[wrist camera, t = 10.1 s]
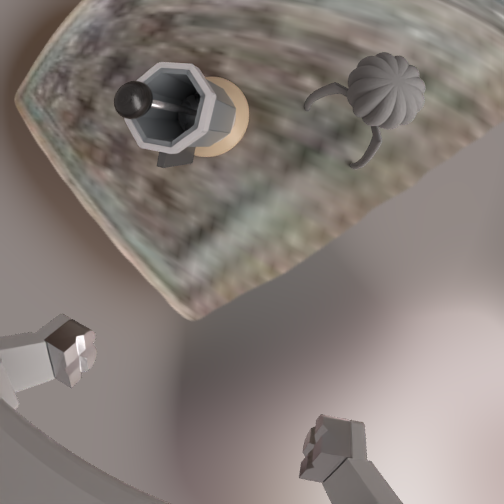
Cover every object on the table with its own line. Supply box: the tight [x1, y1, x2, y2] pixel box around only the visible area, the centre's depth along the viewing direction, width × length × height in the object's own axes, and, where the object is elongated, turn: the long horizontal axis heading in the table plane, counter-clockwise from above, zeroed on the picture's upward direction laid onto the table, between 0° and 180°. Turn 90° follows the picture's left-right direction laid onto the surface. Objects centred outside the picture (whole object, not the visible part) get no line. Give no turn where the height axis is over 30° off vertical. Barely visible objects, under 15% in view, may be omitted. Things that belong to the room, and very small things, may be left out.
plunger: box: [114, 81, 201, 131], centre depth 31 cm, size 6×6×19 cm
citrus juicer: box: [304, 52, 425, 169], centre depth 26 cm, size 11×10×30 cm
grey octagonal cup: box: [124, 62, 249, 168], centre depth 37 cm, size 14×13×14 cm
